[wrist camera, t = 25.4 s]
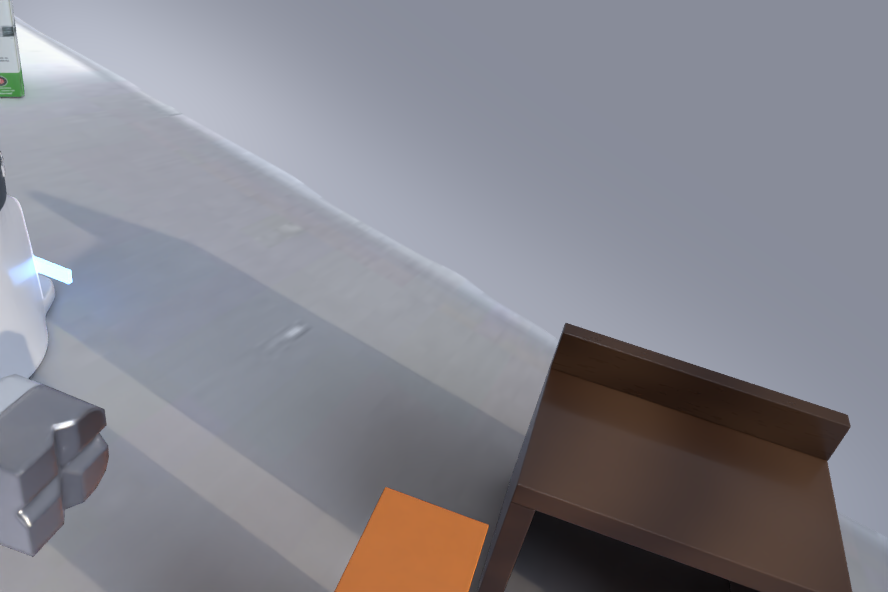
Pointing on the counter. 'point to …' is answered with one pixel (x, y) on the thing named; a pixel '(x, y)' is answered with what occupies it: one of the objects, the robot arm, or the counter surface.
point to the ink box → (9, 54)
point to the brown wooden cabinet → (678, 469)
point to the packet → (414, 549)
